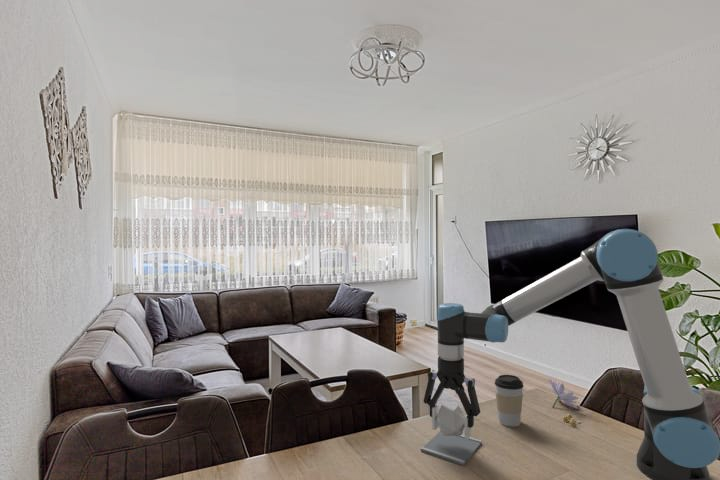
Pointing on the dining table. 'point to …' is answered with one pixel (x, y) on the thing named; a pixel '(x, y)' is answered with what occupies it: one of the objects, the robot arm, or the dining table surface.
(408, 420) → the dining table surface
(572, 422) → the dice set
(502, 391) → the coffee cup
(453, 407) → the die
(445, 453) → the coaster
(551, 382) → the water lily
